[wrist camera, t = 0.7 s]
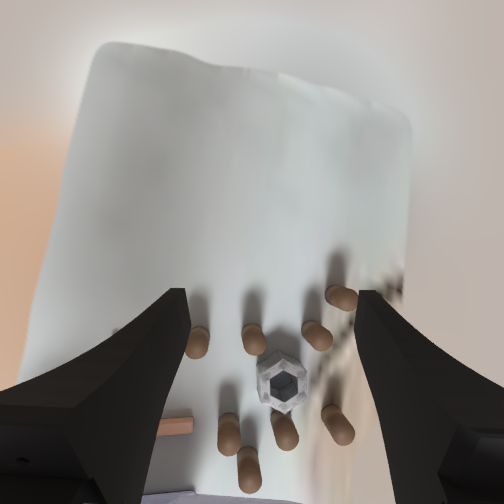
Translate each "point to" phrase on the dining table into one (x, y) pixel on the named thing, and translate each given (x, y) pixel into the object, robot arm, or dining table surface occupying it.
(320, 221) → the dining table surface
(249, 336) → the walnut spacers
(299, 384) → the steel nut
